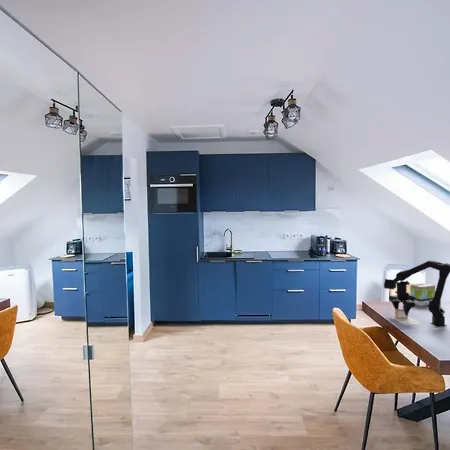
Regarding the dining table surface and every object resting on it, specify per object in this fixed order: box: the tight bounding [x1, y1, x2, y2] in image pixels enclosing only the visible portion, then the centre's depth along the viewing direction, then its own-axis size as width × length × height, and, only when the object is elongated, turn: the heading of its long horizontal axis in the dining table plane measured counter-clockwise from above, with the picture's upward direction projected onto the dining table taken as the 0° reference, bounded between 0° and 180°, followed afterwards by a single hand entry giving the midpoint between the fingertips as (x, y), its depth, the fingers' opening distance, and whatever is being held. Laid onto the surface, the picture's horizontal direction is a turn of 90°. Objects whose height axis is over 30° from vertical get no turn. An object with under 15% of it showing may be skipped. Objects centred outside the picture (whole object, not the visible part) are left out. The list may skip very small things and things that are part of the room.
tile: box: [394, 308, 409, 319], centre depth 210 cm, size 2×8×6 cm, turn 97°
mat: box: [392, 316, 424, 326], centre depth 206 cm, size 14×12×1 cm
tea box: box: [409, 282, 436, 307], centre depth 244 cm, size 15×10×15 cm
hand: (401, 313), depth 210 cm, fingers open, 9 cm apart
